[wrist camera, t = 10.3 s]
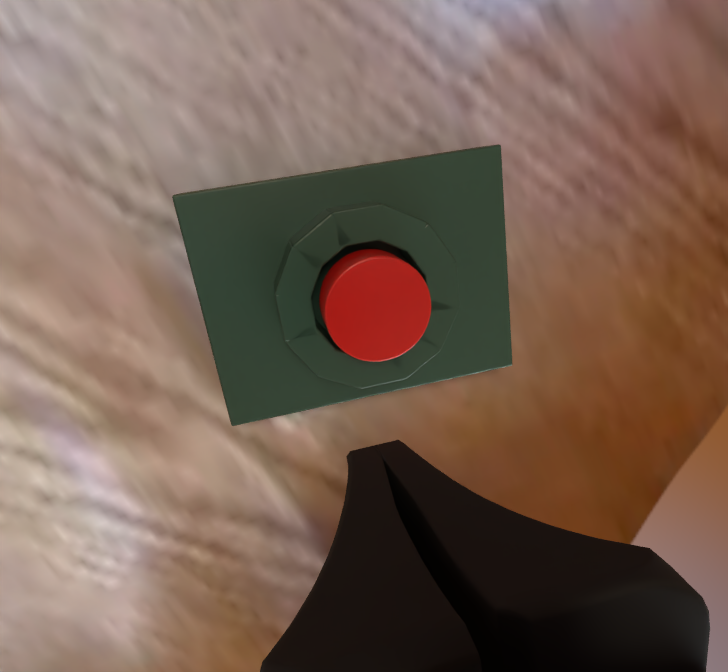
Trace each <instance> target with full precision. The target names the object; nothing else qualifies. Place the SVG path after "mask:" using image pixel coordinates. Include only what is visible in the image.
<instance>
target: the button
mask: <svg viewBox="0 0 728 672" xmlns="http://www.w3.org/2000/svg"><path fill="white" fill-rule="evenodd" d="M319 305H320V311H321V315H322V318H323V320H324V322H325V325H326V327H327V330H328V332H329V334H330V336H331V338H332V339H333V341H334V342H335V343H336V345H337V346H338V347H339V348H340V349H341V350H343V351H344V352H345V353H347V354H348V355H350V356H352V357H354V358H357V359H359V360H363V361H370V362H380V361H386V360H390V359H393V358H396V357H398V356H400V355H402V354H404V353H406V352H407V351H408V350H410V349H411V348H412V347H413V346H414V345H415V344H416V343H417V342H418V341H419V340H420V338H421V337H422V335H423V334H424V332H425V330H426V328H427V325H428V322H429V319H430V315H431V297H430V292H429V289H428V286H427V284H426V282H425V280H424V279H423V277H422V276H421V274H420V273H419V272H418V271H417V270H416V269H415V268H414V267H413V266H411V265H410V264H408V263H407V262H405V261H403V260H402V259H400V258H399V257H397V256H395V255H394V254H391V253H389V252H387V251H383V250H379V249H363V250H358V251H355V252H352V253H350V254H348V255H346V256H344V257H343V258H341V259H340V260H338V261H337V262H336V263H335V264H334V265H333V266H332V267H331V269H330V270H329V271H328V273H327V274H326V276H325V278H324V280H323V282H322V286H321V289H320V295H319Z"/></svg>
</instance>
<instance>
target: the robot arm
mask: <svg viewBox="0 0 728 672" xmlns="http://www.w3.org/2000/svg"><path fill="white" fill-rule="evenodd" d="M347 461H348V483H347V489H346V495H345V501H344V506H343V510H342V514H341V517H340V521H339V525H338V528H337V532H336V535H335V538H334V541H333V543H332V546H331V549H330V551H329V554H328V556H327V559H326V561H325V563H324V565H323V567H322V570H321V572H320V574H319V576H318V578H317V580H316V582H315V584H314V586H313V588H312V590H311V592H310V593H309V595H308V597H307V598H306V600H305V602H304V603H303V605H302V607H301V608H300V610H299V612H298V613H297V615H296V617H295V618H294V620H293V621H292V623H291V624H290V626H289V627H288V629H287V630H286V631H285V633H284V634H283V635H282V637H281V638H280V640H279V641H278V642H277V644H276V645H275V646H274V648H273V649H272V650H271V652H270V653H269V654H268V656H267V657H266V658H265V659H264V661H263V662H262V666H261V669H260V672H706V663H707V652H708V643H709V632H710V623H709V611H708V609H707V606H706V604H705V602H704V600H703V598H702V597H701V596H700V595H699V594H698V593H697V592H696V591H695V590H694V589H693V588H692V587H691V586H690V585H689V584H688V583H687V582H686V581H685V580H684V579H683V578H682V577H681V576H680V575H679V574H678V573H677V572H676V571H675V570H674V569H673V568H672V567H671V566H670V565H669V564H668V563H666V562H665V561H664V560H663V559H662V558H661V557H659V556H658V555H657V554H656V553H655V552H653V551H652V550H651V549H650V548H645V547H640V546H635V545H630V544H624V543H619V542H614V541H608V540H603V539H598V538H594V537H590V536H586V535H582V534H579V533H575V532H571V531H567V530H564V529H561V528H557V527H554V526H551V525H548V524H545V523H542V522H540V521H537V520H534V519H531V518H528V517H526V516H523V515H521V514H518V513H516V512H513V511H511V510H508V509H506V508H504V507H502V506H500V505H498V504H496V503H494V502H491V501H489V500H487V499H485V498H483V497H481V496H479V495H478V494H476V493H474V492H472V491H470V490H469V489H467V488H465V487H464V486H462V485H460V484H459V483H457V482H456V481H454V480H452V479H451V478H449V477H448V476H447V475H445V474H444V473H442V472H441V471H439V470H438V469H436V468H435V467H434V466H432V465H431V464H429V463H428V462H427V461H426V460H424V459H423V458H422V457H420V456H419V455H418V454H416V453H415V452H414V451H413V450H411V449H410V448H409V447H408V446H406V445H405V444H404V443H403V442H401V441H400V440H396V441H392V442H387V443H383V444H379V445H375V446H370V447H366V448H362V449H358V450H354V451H350V453H349V454H348V455H347Z"/></svg>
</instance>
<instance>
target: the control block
mask: <svg viewBox="0 0 728 672" xmlns="http://www.w3.org/2000/svg"><path fill="white" fill-rule="evenodd" d="M172 198H173V202H174V206H175V209H176V213H177V217H178V221H179V225H180V229H181V233H182V236H183V240H184V244H185V248H186V252H187V256H188V260H189V263H190V267H191V271H192V275H193V279H194V283H195V287H196V290H197V294H198V298H199V302H200V306H201V310H202V314H203V317H204V321H205V325H206V329H207V333H208V337H209V341H210V344H211V348H212V352H213V356H214V360H215V364H216V368H217V371H218V375H219V379H220V383H221V387H222V391H223V395H224V398H225V402H226V406H227V410H228V414H229V418H230V421H231V425H232V426H235V425H240V424H244V423H249V422H254V421H258V420H263V419H267V418H272V417H277V416H281V415H286V414H291V413H295V412H300V411H304V410H309V409H314V408H318V407H323V406H327V405H332V404H337V403H341V402H346V401H351V400H355V399H360V398H364V397H369V396H374V395H378V394H383V393H387V392H392V391H397V390H401V389H406V388H411V387H415V386H420V385H424V384H429V383H434V382H438V381H443V380H447V379H452V378H457V377H461V376H466V375H471V374H475V373H480V372H484V371H489V370H494V369H498V368H503V367H507V366H512V349H511V330H510V312H509V293H508V274H507V255H506V236H505V217H504V198H503V179H502V160H501V146H500V145H492V146H483V147H477V148H470V149H464V150H457V151H451V152H444V153H438V154H431V155H425V156H418V157H412V158H406V159H399V160H393V161H386V162H380V163H373V164H367V165H360V166H354V167H347V168H341V169H335V170H328V171H322V172H315V173H309V174H302V175H296V176H289V177H283V178H277V179H270V180H264V181H257V182H251V183H244V184H238V185H231V186H225V187H218V188H212V189H206V190H199V191H193V192H186V193H180V194H176V195H173V197H172ZM363 249H379V250H383V251H387V252H389V253H391V254H394V255H395V256H397V257H399V258H400V259H402V260H403V261H405V262H407V263H408V264H410V265H411V266H413V267H414V268H415V269H416V270H417V271H418V272H419V273H420V274H421V276H422V277H423V279H424V280H425V282H426V284H427V286H428V289H429V292H430V297H431V315H430V319H429V322H428V325H427V328H426V330H425V332H424V334H423V335H422V337H421V338H420V340H419V341H418V342H417V343H416V344H415V345H414V346H413V347H412V348H411V349H410V350H408V351H407V352H406V353H404V354H402V355H400V356H398V357H396V358H393V359H390V360H386V361H380V362H370V361H363V360H359V359H357V358H354V357H352V356H350V355H348V354H347V353H345V352H344V351H343V350H341V349H340V348H339V347H338V346H337V345H336V343H335V342H334V341H333V339H332V338H331V336H330V334H329V332H328V330H327V327H326V325H325V322H324V320H323V318H322V315H321V311H320V305H319V295H320V289H321V286H322V282H323V280H324V278H325V276H326V274H327V273H328V271H329V270H330V269H331V267H332V266H333V265H334V264H335V263H336V262H337V261H338V260H340V259H341V258H343V257H344V256H346V255H348V254H350V253H352V252H355V251H358V250H363Z"/></svg>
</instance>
